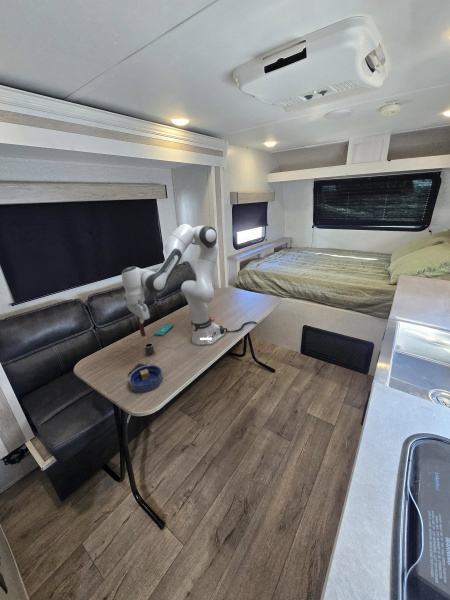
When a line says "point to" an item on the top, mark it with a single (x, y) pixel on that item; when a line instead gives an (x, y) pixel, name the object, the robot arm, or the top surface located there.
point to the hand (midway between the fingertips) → (140, 322)
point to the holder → (149, 349)
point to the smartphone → (163, 330)
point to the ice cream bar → (138, 367)
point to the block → (144, 374)
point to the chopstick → (141, 327)
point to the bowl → (147, 384)
